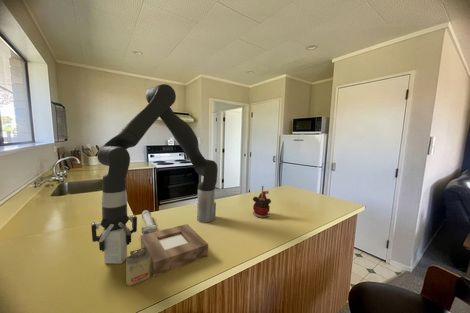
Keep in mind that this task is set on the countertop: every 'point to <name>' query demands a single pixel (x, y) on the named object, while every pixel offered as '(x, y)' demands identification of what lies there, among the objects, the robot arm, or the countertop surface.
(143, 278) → the beige logo box
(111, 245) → the skincare box
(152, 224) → the white flashlight
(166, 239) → the pad
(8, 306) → the countertop surface
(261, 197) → the mouse candy apple
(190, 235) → the holder block
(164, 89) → the robot arm
